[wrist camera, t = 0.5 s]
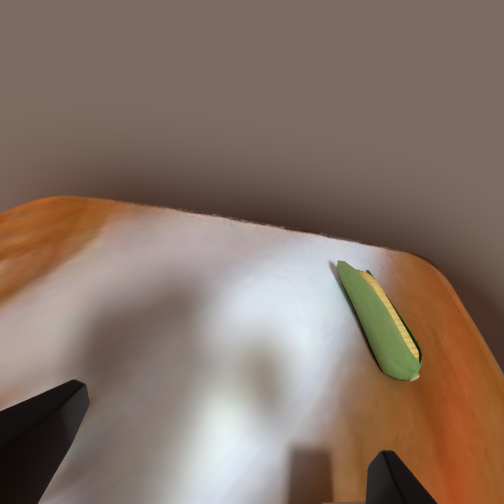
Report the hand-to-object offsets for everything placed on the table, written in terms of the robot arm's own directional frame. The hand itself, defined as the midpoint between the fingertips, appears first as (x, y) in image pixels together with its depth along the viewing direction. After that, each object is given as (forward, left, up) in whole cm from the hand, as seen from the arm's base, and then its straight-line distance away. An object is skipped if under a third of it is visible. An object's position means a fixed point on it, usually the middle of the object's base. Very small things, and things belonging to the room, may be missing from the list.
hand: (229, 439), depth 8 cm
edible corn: (+23, -18, -16) cm, 34 cm away
